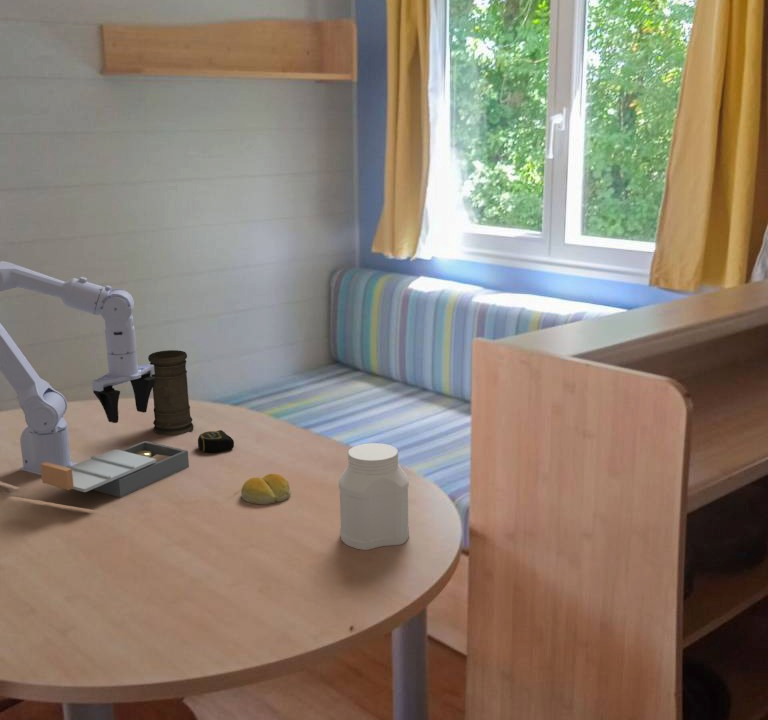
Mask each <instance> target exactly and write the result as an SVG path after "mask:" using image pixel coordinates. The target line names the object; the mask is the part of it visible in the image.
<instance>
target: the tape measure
mask: <svg viewBox="0 0 768 720" xmlns="http://www.w3.org/2000/svg"><path fill="white" fill-rule="evenodd" d="M197 446H198V449H199V450H200V451H201V452H202V453H206V454H218V453H223V452H227V451H230V450H232V449H234V447H235V441H234V439H233V438H232V437H231V436H230V435H229V434H227V433H226V432H225V431H223V430H222V429H220V430H219V429H218V430H216V431H215V430H213V431H212V430H211V431H209V430H208V431H205V432H202V433H201V434H200V435H198V438H197Z"/></svg>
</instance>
